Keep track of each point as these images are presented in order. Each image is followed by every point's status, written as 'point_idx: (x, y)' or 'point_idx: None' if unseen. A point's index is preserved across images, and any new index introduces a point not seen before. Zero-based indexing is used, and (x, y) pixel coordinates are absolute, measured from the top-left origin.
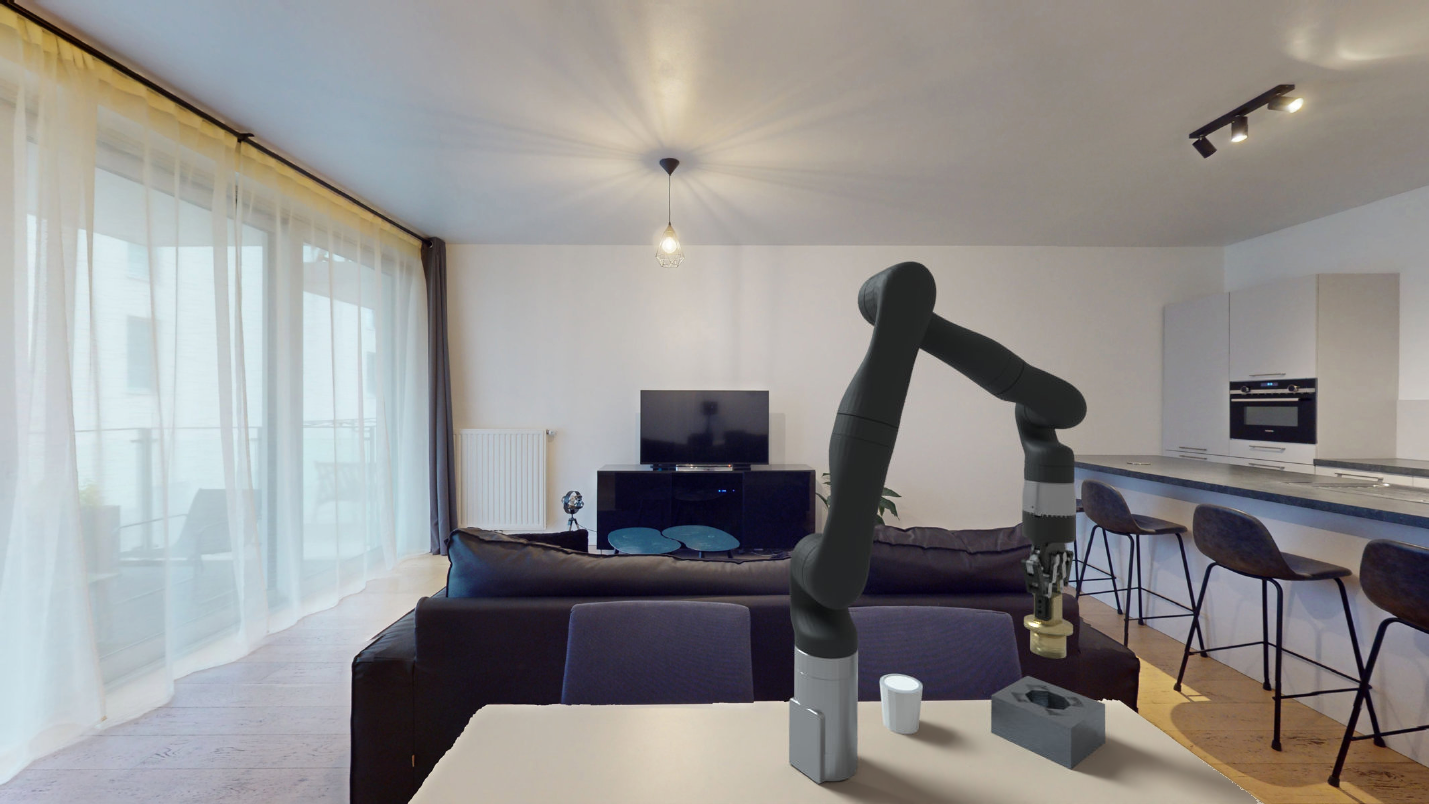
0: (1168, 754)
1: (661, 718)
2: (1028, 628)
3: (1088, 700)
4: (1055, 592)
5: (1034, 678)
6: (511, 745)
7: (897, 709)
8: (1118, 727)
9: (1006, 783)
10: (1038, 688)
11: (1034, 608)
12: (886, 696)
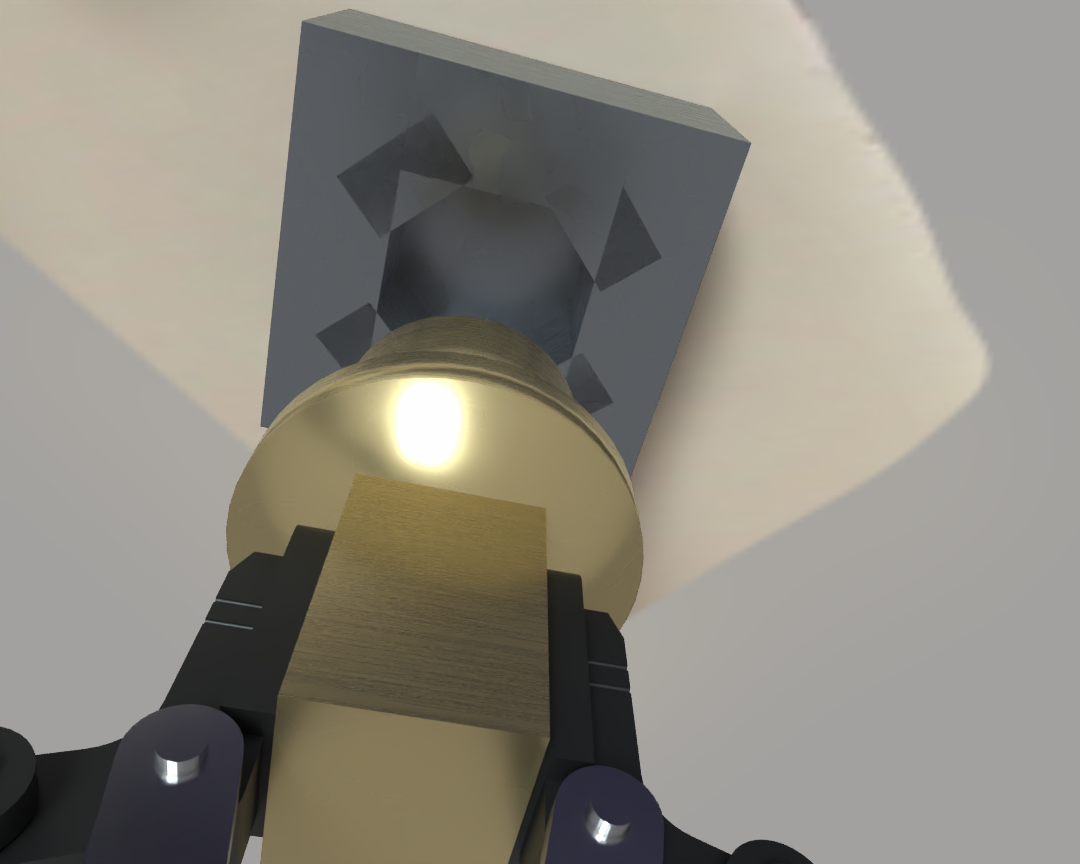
0: (656, 573)
1: None
2: (278, 415)
3: None
4: (527, 844)
5: (731, 186)
6: None
7: None
8: (771, 442)
9: (5, 177)
10: (598, 232)
11: (326, 558)
12: None
